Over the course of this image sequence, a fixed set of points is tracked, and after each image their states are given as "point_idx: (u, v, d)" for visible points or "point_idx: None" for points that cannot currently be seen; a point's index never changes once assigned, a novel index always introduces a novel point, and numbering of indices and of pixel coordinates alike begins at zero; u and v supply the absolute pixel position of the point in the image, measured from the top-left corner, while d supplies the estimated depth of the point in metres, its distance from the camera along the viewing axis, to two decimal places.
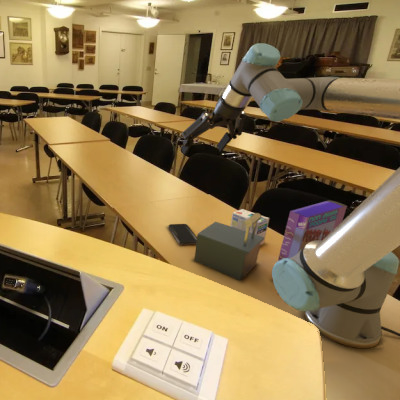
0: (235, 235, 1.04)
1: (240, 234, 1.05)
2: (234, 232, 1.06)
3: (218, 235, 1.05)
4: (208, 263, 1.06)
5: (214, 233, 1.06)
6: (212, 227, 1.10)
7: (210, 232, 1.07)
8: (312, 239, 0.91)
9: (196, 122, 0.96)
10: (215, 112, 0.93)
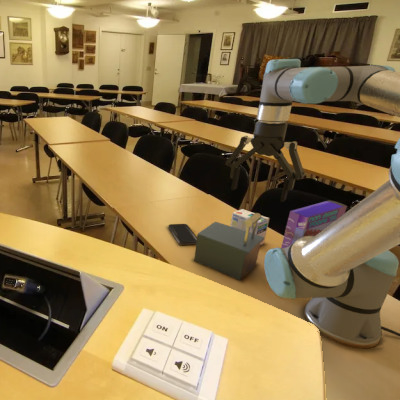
0: (235, 235, 1.04)
1: (240, 234, 1.05)
2: (234, 232, 1.06)
3: (218, 235, 1.05)
4: (208, 263, 1.06)
5: (214, 233, 1.06)
6: (212, 227, 1.10)
7: (210, 232, 1.07)
8: None
9: None
10: None
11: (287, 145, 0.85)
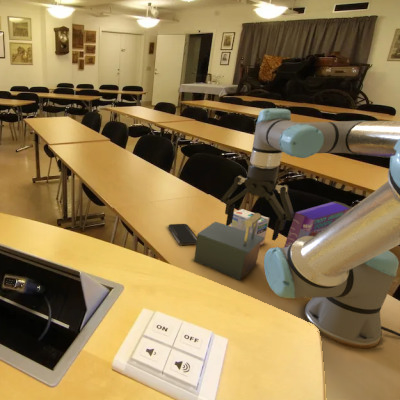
0: (235, 235, 1.04)
1: (240, 234, 1.05)
2: (234, 232, 1.06)
3: (218, 235, 1.05)
4: (208, 263, 1.06)
5: (214, 233, 1.06)
6: (212, 227, 1.10)
7: (210, 232, 1.07)
8: None
9: None
10: None
11: (278, 188, 0.90)
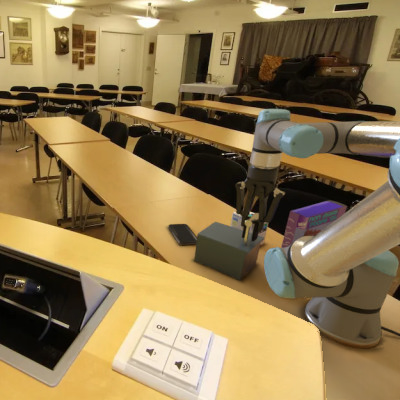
0: (235, 235, 1.04)
1: (240, 234, 1.05)
2: (234, 232, 1.06)
3: (218, 235, 1.05)
4: (208, 263, 1.06)
5: (214, 233, 1.06)
6: (212, 227, 1.10)
7: (210, 232, 1.07)
8: None
9: None
10: None
11: (276, 192, 0.90)
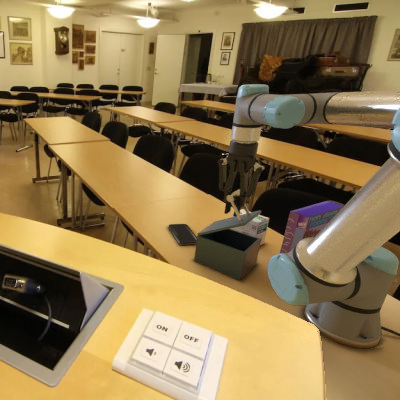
0: (232, 220, 1.03)
1: (237, 218, 1.04)
2: (231, 219, 1.06)
3: (216, 226, 1.04)
4: (208, 263, 1.06)
5: (212, 227, 1.06)
6: (211, 224, 1.10)
7: (209, 228, 1.07)
8: None
9: None
10: None
11: (256, 166, 0.92)
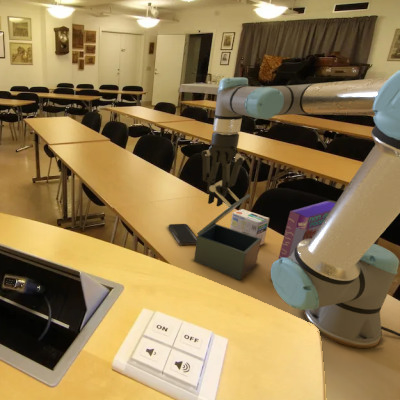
0: None
1: None
2: None
3: None
4: (208, 263, 1.06)
5: None
6: None
7: None
8: None
9: None
10: None
11: (237, 157, 0.96)
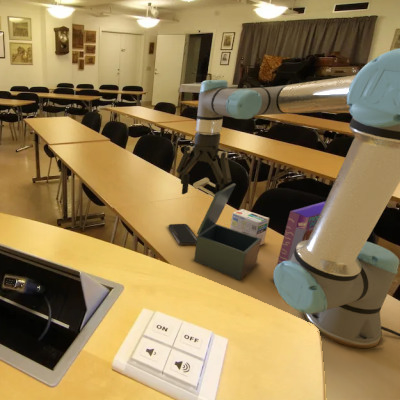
0: None
1: None
2: None
3: None
4: (208, 263, 1.06)
5: None
6: None
7: None
8: None
9: None
10: None
11: (220, 154, 0.99)
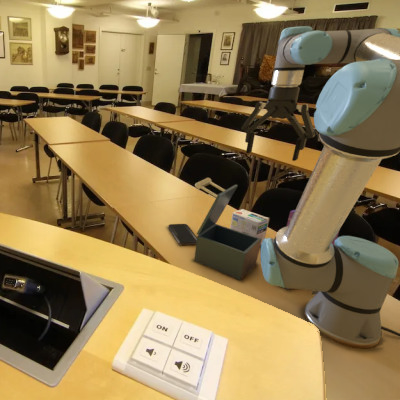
0: None
1: None
2: None
3: None
4: (208, 263, 1.06)
5: None
6: None
7: None
8: None
9: None
10: None
11: (299, 107, 0.93)
